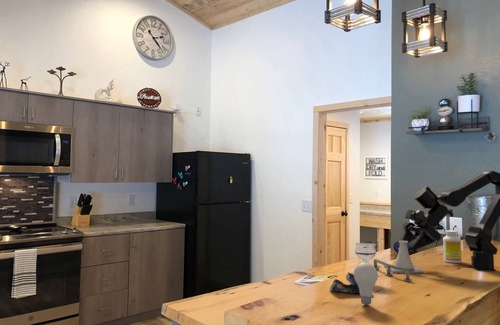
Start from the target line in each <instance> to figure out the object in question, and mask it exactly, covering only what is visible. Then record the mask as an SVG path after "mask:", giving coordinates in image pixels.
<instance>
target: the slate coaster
mask: <svg viewBox="0 0 500 325" xmlns="http://www.w3.org/2000/svg"><path fill="white" fill-rule="evenodd" d="M413 266H414V269H411V270H409V273H410V275H411V274H412V275H415V274H416V275H418V274H417V273H426V272H425V270H422V269H421V268H418V267H416V266H415V265H413ZM383 268H385V269H386V270H387V266H385V265H383ZM390 272H391V274H395V273H400V274H401V275H402V274H403V275H404V273H406V272H405V271H402V270H398V269H394V268H390Z"/></svg>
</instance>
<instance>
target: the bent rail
mask: <svg viewBox="0 0 500 325" xmlns="http://www.w3.org/2000/svg"><path fill="white" fill-rule="evenodd" d="M378 264H381V265H382V266H384V265H385V266H387V269H386V273H385V274H384V276H386V277H392V276H393V273H392V272H390V268H394V269H398V270H402V271H405V272H406V274H405V278H403V281H404V282H406V281H408V282H409V283H411V281H412V280H413V279H412V278H410V275H411V274H410V273H409V270H408V269H406V268H402V267H398V266H394V265H395V264H394V265H393V264H390V263H388V262H386V261H385V262H384V261H382V260H380V259H377V258H374V259H373V266H374V267H375V268H376V270H377V271H378V270H380V268H379V267H378Z"/></svg>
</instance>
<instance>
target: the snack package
mask: <svg viewBox="0 0 500 325" xmlns="http://www.w3.org/2000/svg"><path fill="white" fill-rule="evenodd" d="M345 279H346V281H348V283H349V284H346V283H344V282H343V281H341V280H339V279H334V280H333V281H332V284H331V285H330V286H329V287H330V288H329V291H330V292H341V293H346V294H347V293H350V294H356V293H357V294H358V293H359V294H360V291H359V287H358V284H357V282H356V280H355V278H354V273H351V272H349V271H348V272H347V274H346V275H345Z"/></svg>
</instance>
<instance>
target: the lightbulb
mask: <svg viewBox="0 0 500 325" xmlns="http://www.w3.org/2000/svg"><path fill="white" fill-rule="evenodd" d="M353 275H354V278H355V280H356V282H357V284H358V287H359V291H360V292H359V295H360V302H361V304H362V305H363V306H365V307H368V306H369V305H371V304H372V296H373V291H374V287H375V285H376V283H377V280H378V278H379V273H378V270H376V268H375V267H374V264H371V263H370V262H367V263H365V262H364V261H363V262H361V263H360V262H359V263H358V264H357V265H356V266H355V268H354V269H353Z"/></svg>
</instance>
